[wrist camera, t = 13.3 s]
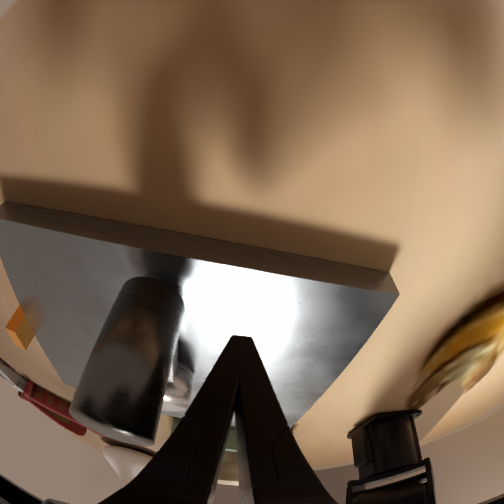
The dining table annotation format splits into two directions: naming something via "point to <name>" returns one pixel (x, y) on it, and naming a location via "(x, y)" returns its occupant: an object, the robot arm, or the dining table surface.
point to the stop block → (229, 469)
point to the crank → (135, 365)
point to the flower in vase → (126, 462)
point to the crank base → (189, 298)
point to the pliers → (43, 401)
